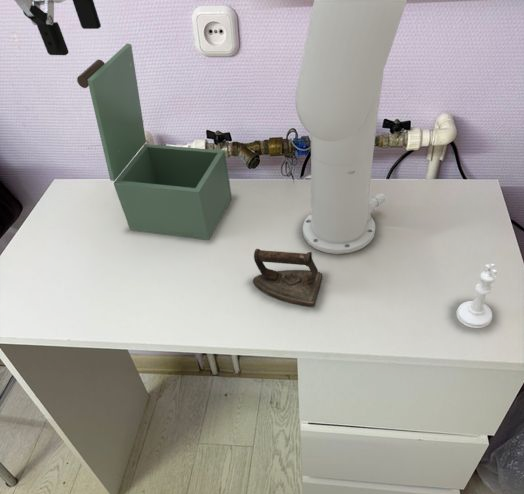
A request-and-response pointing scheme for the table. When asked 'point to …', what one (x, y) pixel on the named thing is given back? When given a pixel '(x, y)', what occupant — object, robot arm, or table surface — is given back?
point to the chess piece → (478, 302)
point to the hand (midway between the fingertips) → (76, 40)
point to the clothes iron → (288, 277)
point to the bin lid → (116, 108)
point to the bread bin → (175, 190)
